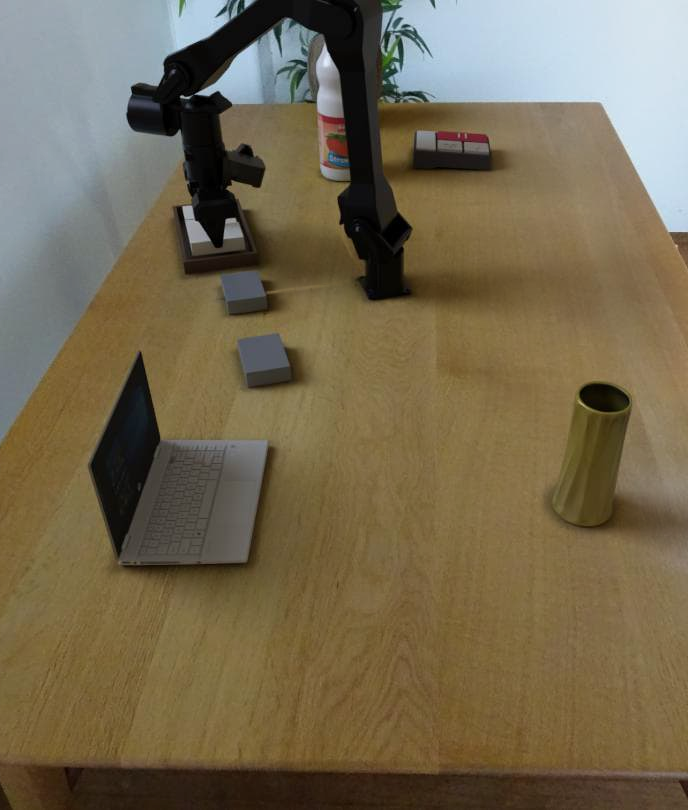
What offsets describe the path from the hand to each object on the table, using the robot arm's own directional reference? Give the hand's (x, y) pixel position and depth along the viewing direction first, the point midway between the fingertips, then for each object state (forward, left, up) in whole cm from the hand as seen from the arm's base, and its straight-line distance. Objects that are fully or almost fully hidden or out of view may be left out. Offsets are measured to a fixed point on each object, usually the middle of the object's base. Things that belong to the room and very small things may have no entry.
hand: (216, 239), depth 126 cm
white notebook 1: (+12, 0, -3) cm, 13 cm away
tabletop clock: (+58, -35, -3) cm, 68 cm away
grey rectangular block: (-14, -2, -3) cm, 14 cm away
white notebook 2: (+7, 0, -3) cm, 7 cm away
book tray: (+6, 0, -3) cm, 6 cm away
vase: (-66, -29, -3) cm, 73 cm away
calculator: (+30, -49, -3) cm, 58 cm away
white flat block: (0, 0, -1) cm, 1 cm away
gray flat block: (-32, -2, -3) cm, 32 cm away
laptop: (-54, +9, -3) cm, 55 cm away
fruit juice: (+29, -27, -3) cm, 40 cm away
